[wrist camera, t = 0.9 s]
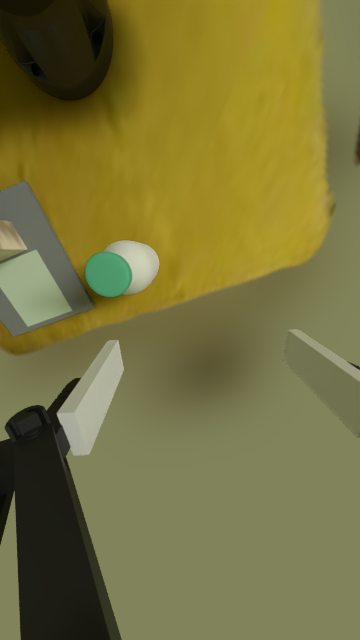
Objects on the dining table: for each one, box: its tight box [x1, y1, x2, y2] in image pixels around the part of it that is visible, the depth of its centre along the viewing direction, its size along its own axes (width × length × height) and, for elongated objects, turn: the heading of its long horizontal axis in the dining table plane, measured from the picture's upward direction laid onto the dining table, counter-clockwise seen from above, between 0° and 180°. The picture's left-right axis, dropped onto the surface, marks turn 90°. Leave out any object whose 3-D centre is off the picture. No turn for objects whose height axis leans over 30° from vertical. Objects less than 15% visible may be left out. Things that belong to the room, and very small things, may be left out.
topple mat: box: [0, 181, 95, 337], centre depth 37 cm, size 24×20×1 cm
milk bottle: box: [85, 240, 159, 297], centre depth 28 cm, size 8×8×20 cm
